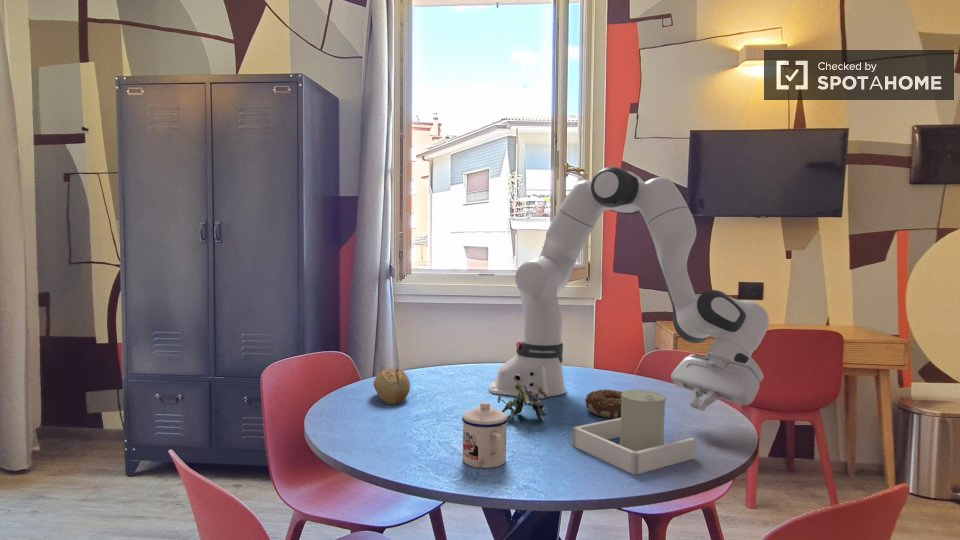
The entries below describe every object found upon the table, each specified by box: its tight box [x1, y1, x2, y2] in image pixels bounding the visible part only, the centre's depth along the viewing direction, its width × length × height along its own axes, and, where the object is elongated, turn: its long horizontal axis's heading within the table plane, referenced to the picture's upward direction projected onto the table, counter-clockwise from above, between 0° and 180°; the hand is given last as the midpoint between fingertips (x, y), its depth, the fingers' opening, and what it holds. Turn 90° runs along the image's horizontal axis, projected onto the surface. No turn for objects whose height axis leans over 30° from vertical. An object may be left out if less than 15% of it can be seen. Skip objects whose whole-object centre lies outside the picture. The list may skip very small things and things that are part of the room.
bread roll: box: [373, 368, 411, 406], centre depth 160 cm, size 10×15×8 cm, turn 21°
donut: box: [584, 389, 623, 419], centre depth 150 cm, size 14×14×5 cm
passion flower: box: [497, 382, 548, 423], centre depth 142 cm, size 11×11×12 cm
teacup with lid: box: [461, 401, 509, 469], centre depth 115 cm, size 12×9×12 cm
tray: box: [571, 418, 696, 476], centre depth 122 cm, size 17×18×4 cm
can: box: [618, 389, 667, 452], centre depth 124 cm, size 9×9×12 cm
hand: (696, 407), depth 133 cm, fingers closed
